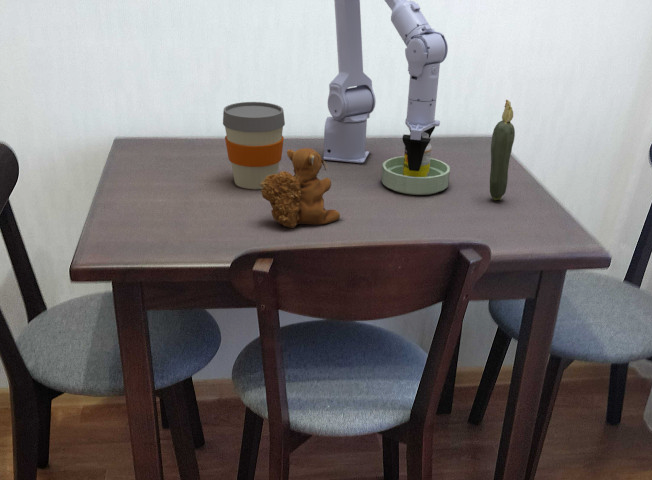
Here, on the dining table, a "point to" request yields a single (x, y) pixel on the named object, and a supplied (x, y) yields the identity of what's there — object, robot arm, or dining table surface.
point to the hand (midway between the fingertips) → (416, 164)
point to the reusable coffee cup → (253, 141)
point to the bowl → (415, 185)
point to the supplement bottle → (425, 162)
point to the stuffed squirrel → (299, 191)
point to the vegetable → (501, 153)
